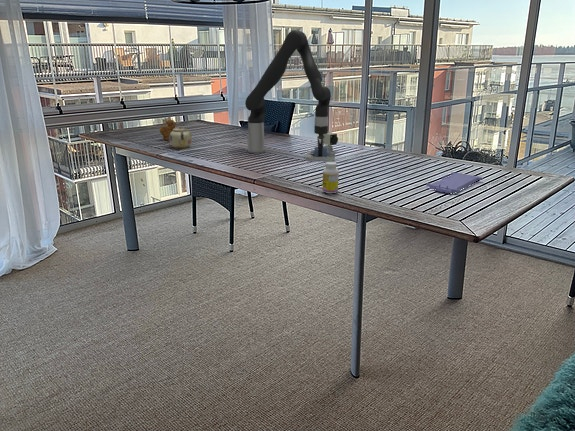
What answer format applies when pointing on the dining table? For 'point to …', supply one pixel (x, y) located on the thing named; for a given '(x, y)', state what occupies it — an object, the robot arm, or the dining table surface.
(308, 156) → the plate
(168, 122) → the stuffed squirrel
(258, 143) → the robot arm
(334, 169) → the supplement bottle
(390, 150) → the dining table surface
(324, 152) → the block
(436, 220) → the dining table surface
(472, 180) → the computer part
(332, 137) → the pneumatic valve
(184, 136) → the teapot
